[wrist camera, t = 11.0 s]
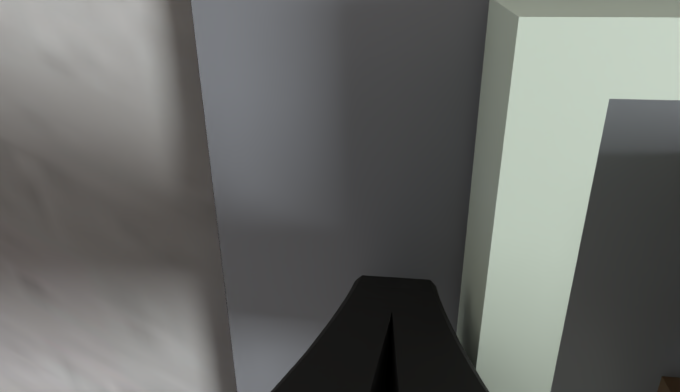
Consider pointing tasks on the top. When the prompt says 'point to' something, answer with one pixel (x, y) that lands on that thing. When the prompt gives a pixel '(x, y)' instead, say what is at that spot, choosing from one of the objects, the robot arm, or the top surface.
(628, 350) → the housing base
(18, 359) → the top surface
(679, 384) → the jaw block
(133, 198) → the top surface
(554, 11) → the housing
